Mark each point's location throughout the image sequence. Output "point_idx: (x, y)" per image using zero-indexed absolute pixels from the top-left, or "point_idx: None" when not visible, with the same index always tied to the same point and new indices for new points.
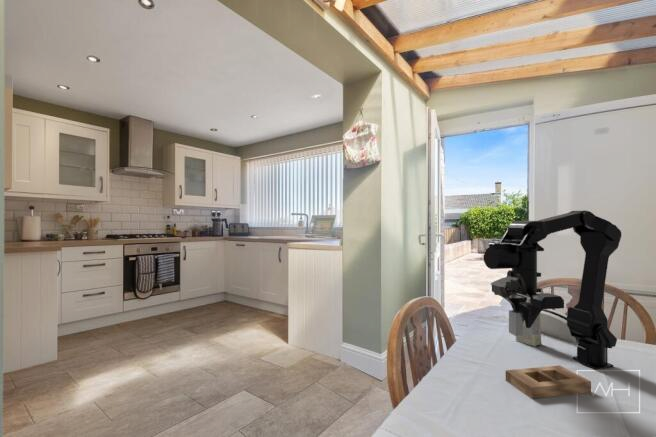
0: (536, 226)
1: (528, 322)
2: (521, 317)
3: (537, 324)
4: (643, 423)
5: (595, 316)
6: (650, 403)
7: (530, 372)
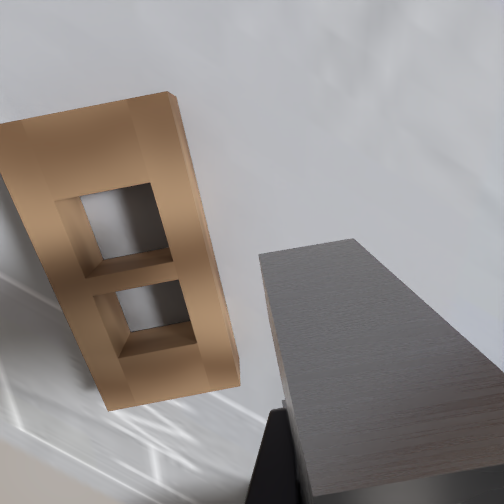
0: None
1: (255, 479)
2: (302, 484)
3: None
4: None
5: None
6: (80, 481)
7: (164, 224)
